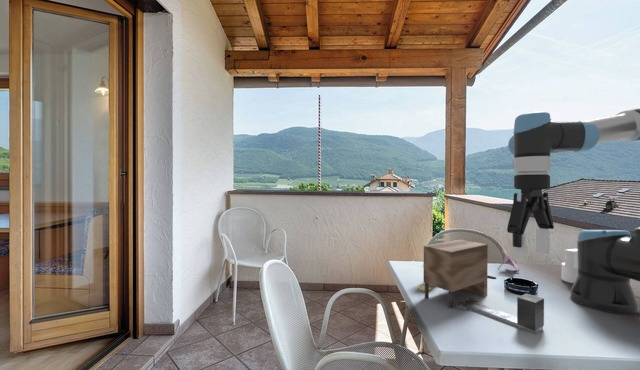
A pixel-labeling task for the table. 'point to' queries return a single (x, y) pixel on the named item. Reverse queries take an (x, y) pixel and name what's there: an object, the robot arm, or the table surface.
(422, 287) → the brass disc
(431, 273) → the cabinet
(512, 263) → the lily
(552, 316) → the table surface
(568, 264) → the cylinder with rectangular tab
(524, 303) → the flat bar with block
